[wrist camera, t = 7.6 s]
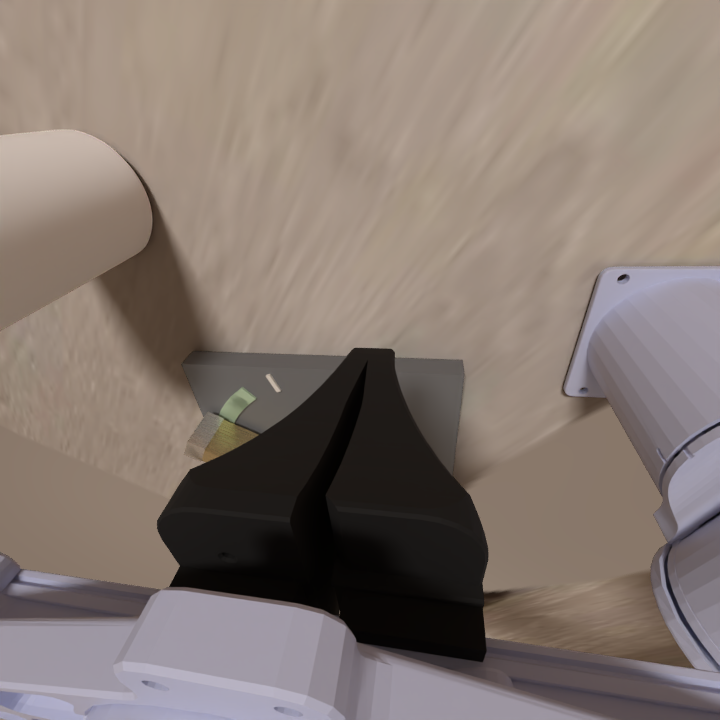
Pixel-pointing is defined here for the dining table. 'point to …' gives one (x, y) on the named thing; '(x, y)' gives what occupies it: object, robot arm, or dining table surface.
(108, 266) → the can
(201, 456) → the brown bar with cylinder
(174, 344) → the dining table surface
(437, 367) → the dial board
